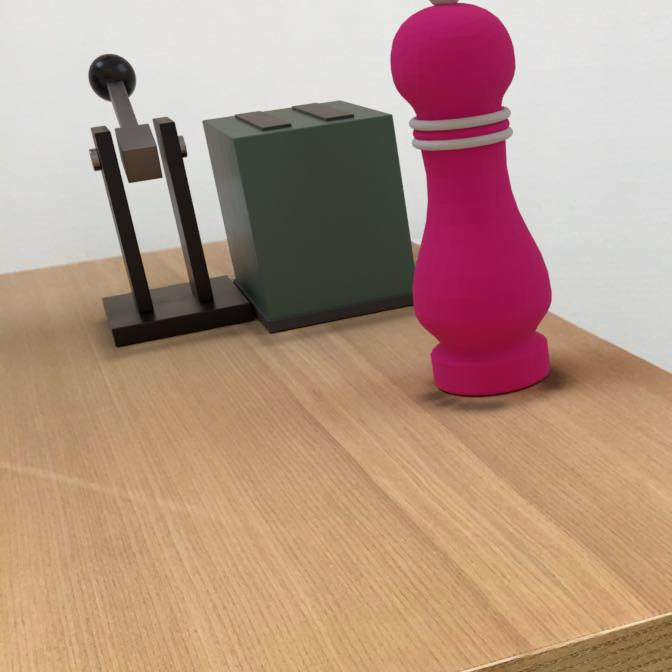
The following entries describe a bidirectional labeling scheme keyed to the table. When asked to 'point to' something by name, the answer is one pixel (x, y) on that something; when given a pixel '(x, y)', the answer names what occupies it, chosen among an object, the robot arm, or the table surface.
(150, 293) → the bracket
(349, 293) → the toaster
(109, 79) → the lever
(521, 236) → the pepper mill
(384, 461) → the table surface
